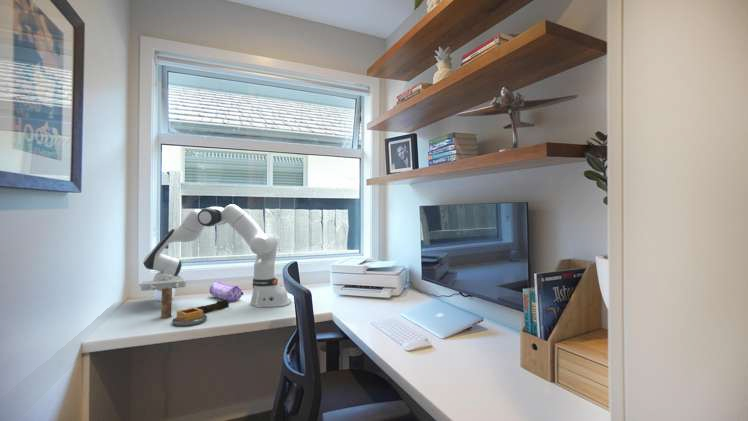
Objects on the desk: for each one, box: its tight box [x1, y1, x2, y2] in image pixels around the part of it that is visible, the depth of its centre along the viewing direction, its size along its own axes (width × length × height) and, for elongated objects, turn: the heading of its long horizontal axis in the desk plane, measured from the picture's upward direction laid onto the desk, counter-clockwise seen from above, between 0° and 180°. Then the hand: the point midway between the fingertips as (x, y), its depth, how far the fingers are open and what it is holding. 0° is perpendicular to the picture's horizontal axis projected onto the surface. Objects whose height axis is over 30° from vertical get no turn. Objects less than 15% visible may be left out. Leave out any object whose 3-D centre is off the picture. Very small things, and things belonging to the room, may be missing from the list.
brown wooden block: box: [160, 287, 173, 319], centre depth 158 cm, size 4×4×14 cm
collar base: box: [171, 307, 208, 328], centre depth 152 cm, size 14×14×5 cm
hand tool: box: [196, 299, 230, 314], centre depth 169 cm, size 19×4×5 cm, turn 142°
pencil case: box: [209, 280, 244, 303], centre depth 193 cm, size 22×9×10 cm, turn 58°
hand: (164, 287), depth 168 cm, fingers open, 8 cm apart
